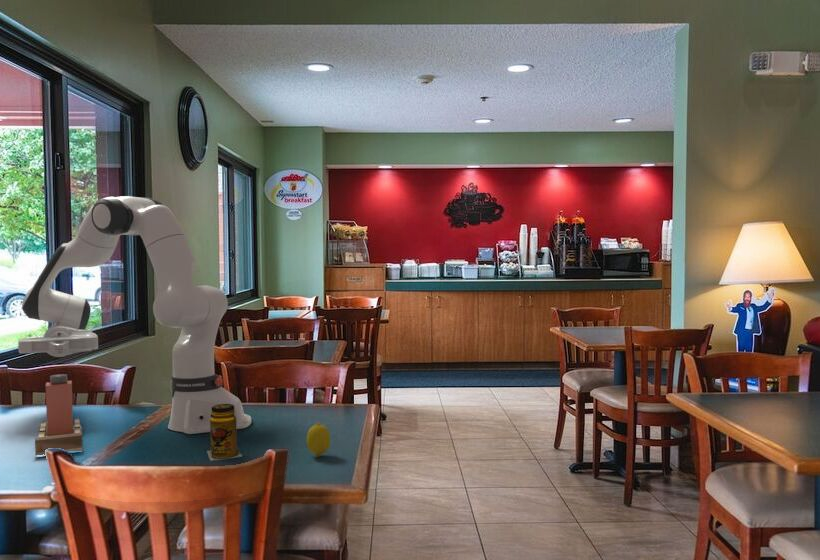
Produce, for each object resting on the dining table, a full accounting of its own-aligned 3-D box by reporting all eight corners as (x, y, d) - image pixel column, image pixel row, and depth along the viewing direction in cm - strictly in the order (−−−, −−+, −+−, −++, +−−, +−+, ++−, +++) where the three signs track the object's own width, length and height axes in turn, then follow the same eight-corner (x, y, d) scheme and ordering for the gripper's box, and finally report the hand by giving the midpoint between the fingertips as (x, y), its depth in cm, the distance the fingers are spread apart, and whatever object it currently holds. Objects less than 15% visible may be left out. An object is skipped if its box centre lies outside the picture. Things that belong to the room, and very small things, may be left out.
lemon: (307, 453, 163) (307, 420, 163) (331, 452, 164) (330, 419, 163) (306, 460, 158) (305, 426, 157) (330, 459, 158) (329, 425, 158)
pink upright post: (47, 431, 181) (46, 375, 180) (73, 428, 184) (71, 373, 183) (47, 435, 176) (45, 378, 176) (73, 432, 179) (71, 376, 178)
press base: (40, 434, 183) (39, 418, 183) (81, 429, 188) (80, 414, 187) (35, 458, 162) (35, 440, 162) (82, 452, 166) (81, 435, 166)
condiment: (210, 461, 158) (209, 410, 157) (206, 451, 166) (205, 402, 165) (242, 457, 161) (241, 407, 160) (237, 448, 169) (236, 400, 168)
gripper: (18, 332, 196) (15, 338, 184) (97, 328, 205) (98, 333, 193) (19, 354, 196) (15, 361, 184) (97, 349, 205) (99, 356, 193)
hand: (58, 347), depth 189 cm, fingers closed
